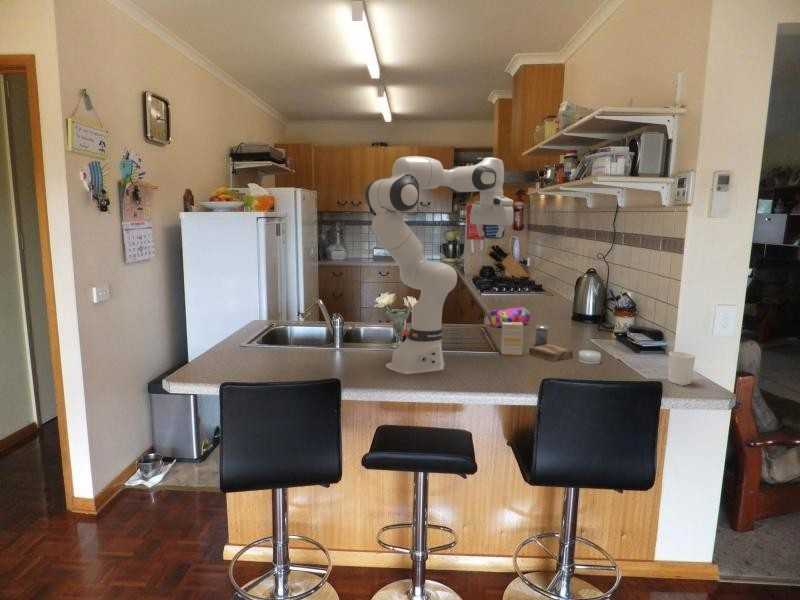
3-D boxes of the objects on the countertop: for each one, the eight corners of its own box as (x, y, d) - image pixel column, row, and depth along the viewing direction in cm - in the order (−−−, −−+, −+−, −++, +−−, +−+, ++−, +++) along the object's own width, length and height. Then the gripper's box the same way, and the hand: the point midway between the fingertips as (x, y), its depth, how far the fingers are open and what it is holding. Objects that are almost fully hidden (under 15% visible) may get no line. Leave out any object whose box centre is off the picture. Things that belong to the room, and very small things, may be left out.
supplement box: (520, 353, 214) (522, 322, 212) (522, 356, 210) (523, 324, 207) (500, 352, 215) (501, 321, 213) (501, 355, 210) (502, 323, 208)
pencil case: (498, 329, 259) (499, 311, 257) (486, 325, 267) (487, 308, 265) (531, 325, 269) (532, 308, 268) (518, 321, 277) (519, 305, 276)
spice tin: (541, 348, 222) (543, 328, 221) (531, 345, 227) (533, 325, 225) (549, 346, 226) (551, 326, 224) (539, 344, 230) (541, 324, 228)
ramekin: (592, 365, 198) (592, 356, 198) (574, 360, 205) (574, 351, 204) (604, 362, 203) (605, 353, 203) (586, 357, 210) (586, 349, 209)
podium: (553, 362, 202) (553, 354, 201) (528, 355, 211) (529, 347, 211) (572, 357, 209) (573, 349, 208) (547, 351, 218) (548, 343, 218)
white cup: (670, 385, 176) (673, 356, 175) (663, 378, 184) (665, 350, 182) (695, 387, 175) (699, 358, 173) (687, 379, 183) (690, 352, 181)
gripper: (466, 200, 209) (465, 235, 212) (505, 200, 193) (503, 238, 195) (478, 201, 213) (476, 235, 215) (516, 200, 197) (515, 237, 199)
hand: (489, 236), depth 205 cm, fingers open, 8 cm apart
